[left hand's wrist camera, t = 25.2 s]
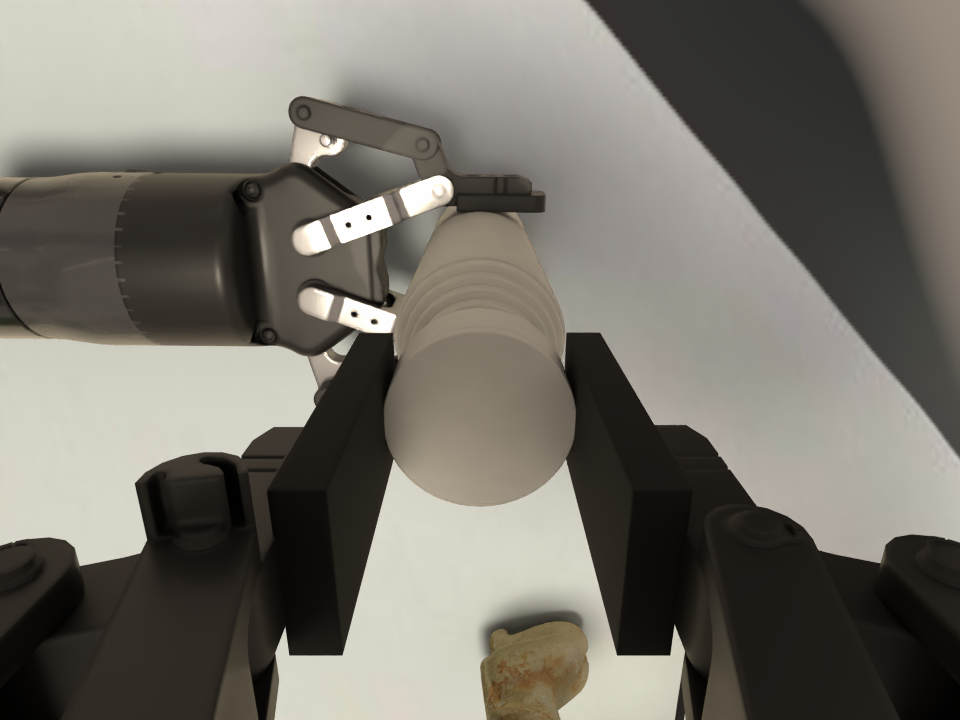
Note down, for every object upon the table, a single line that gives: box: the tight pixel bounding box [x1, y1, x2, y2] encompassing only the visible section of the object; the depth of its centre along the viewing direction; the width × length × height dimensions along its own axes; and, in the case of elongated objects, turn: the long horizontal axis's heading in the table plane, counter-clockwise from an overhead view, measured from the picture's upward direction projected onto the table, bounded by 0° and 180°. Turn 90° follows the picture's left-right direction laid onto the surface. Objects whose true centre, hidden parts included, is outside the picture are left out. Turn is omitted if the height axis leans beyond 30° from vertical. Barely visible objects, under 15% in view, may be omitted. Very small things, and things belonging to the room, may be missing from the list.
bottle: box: [395, 206, 565, 360], centre depth 24 cm, size 5×5×22 cm
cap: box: [384, 308, 576, 506], centre depth 14 cm, size 4×4×2 cm
